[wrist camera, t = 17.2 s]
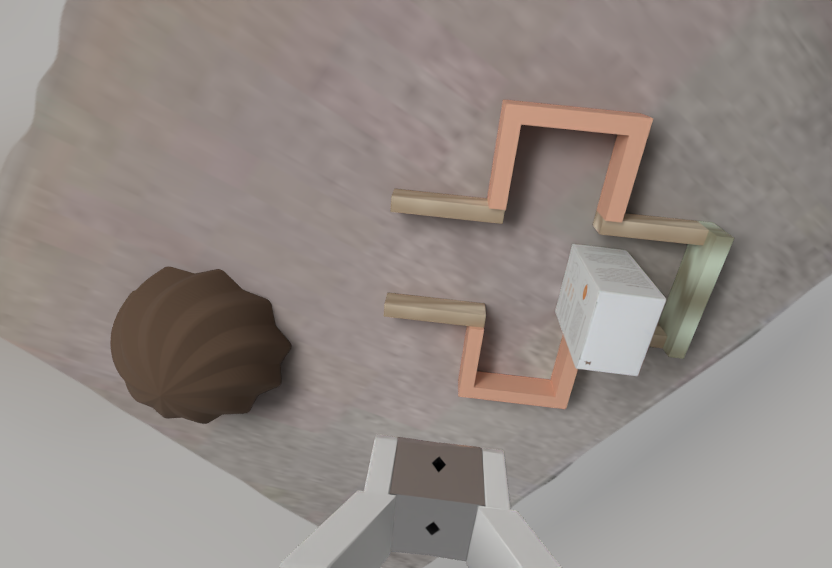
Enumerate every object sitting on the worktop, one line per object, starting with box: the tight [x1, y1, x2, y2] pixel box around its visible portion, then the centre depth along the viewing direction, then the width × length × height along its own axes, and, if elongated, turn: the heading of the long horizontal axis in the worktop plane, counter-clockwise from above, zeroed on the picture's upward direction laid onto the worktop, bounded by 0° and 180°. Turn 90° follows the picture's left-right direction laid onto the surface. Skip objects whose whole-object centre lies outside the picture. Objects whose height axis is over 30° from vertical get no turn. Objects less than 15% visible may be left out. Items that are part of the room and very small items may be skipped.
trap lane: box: [384, 189, 734, 359], centre depth 47 cm, size 13×30×4 cm, turn 85°
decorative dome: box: [111, 267, 291, 424], centre depth 52 cm, size 19×20×10 cm
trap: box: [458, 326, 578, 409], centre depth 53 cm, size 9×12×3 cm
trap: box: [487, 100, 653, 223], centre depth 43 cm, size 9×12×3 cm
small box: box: [555, 244, 666, 376], centre depth 45 cm, size 8×6×10 cm
